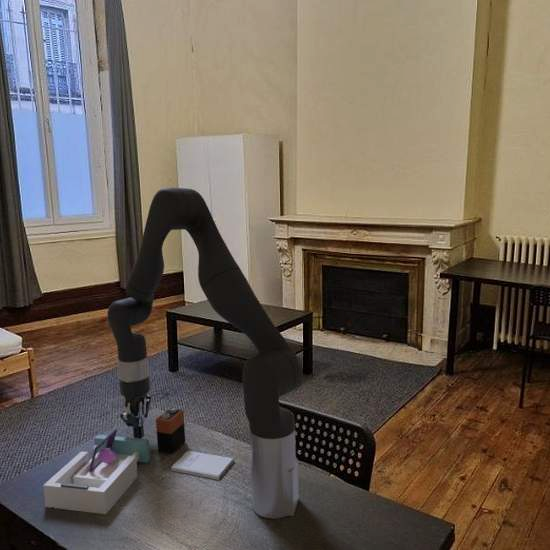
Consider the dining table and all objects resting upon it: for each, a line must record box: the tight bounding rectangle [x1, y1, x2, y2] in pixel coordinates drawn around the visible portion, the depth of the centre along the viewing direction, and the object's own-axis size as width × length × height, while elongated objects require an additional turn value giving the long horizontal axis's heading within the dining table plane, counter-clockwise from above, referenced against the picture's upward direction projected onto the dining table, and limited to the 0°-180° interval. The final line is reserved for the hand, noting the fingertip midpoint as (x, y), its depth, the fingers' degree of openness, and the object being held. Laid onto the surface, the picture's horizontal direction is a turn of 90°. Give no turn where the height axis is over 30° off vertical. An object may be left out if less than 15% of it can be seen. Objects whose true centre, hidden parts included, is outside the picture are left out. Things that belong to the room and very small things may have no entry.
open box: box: [43, 451, 138, 515], centre depth 114 cm, size 14×14×5 cm
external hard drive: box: [171, 450, 235, 481], centre depth 124 cm, size 2×8×12 cm
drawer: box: [73, 434, 151, 488], centre depth 121 cm, size 14×14×5 cm
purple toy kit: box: [89, 428, 119, 472], centre depth 122 cm, size 7×5×9 cm
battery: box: [155, 406, 186, 455], centre depth 132 cm, size 4×7×10 cm, turn 159°
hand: (138, 437), depth 135 cm, fingers closed
